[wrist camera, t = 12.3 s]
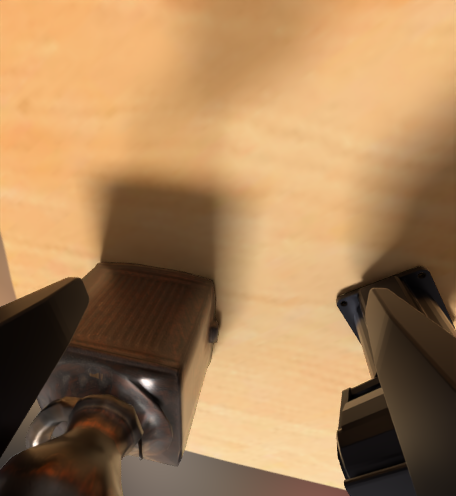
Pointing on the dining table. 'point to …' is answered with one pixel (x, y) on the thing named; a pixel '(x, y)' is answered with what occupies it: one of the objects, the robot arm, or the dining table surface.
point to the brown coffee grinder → (119, 383)
